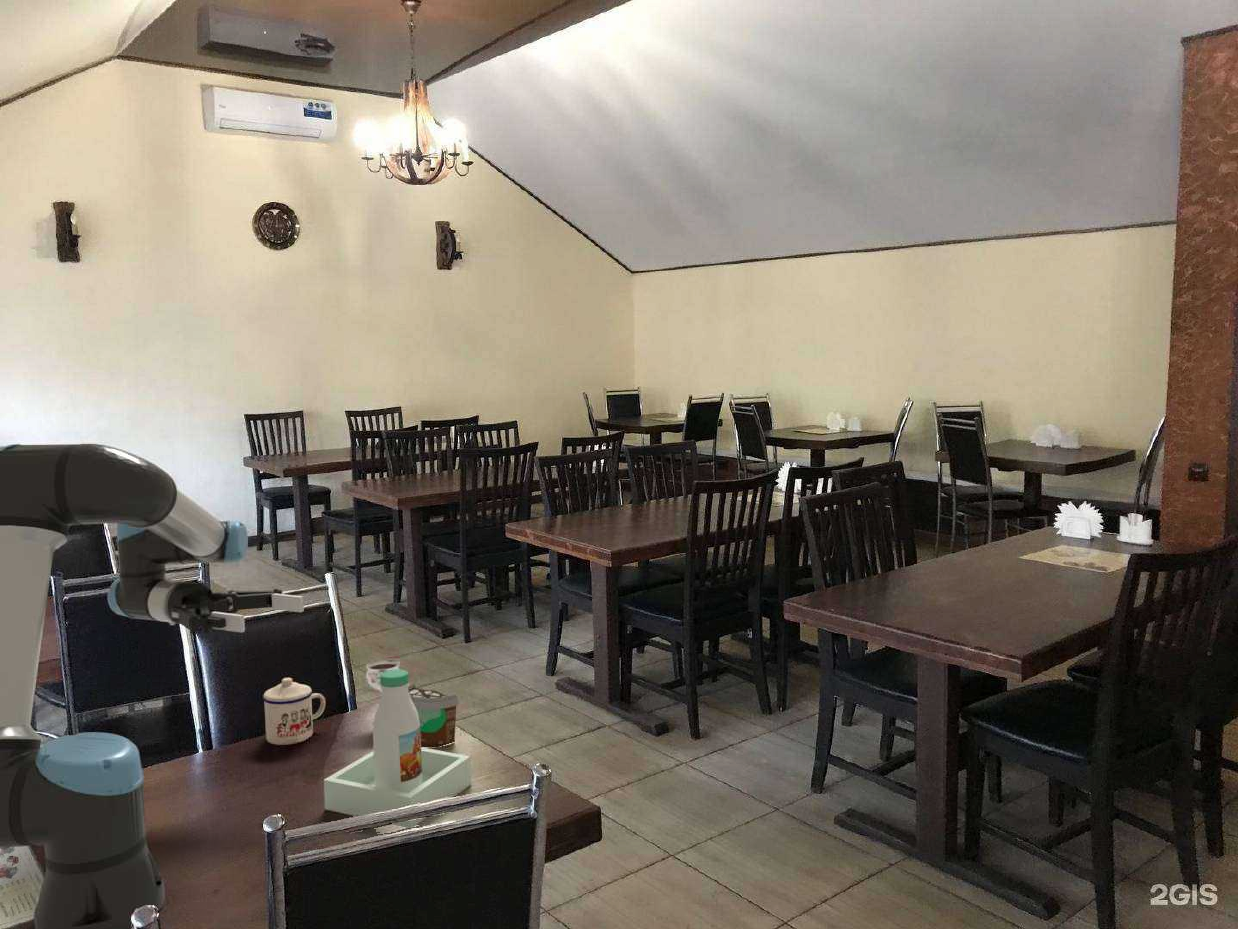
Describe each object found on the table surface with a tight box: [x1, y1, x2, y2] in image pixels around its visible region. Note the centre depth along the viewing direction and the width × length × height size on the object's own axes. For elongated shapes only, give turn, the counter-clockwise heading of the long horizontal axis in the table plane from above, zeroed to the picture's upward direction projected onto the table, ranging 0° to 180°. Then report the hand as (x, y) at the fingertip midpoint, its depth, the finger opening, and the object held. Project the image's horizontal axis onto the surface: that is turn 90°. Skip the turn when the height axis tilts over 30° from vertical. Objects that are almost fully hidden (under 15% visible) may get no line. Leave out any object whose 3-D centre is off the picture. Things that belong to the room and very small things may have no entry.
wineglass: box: [365, 658, 401, 693], centre depth 192 cm, size 7×7×12 cm
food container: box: [408, 682, 460, 749], centre depth 181 cm, size 12×6×10 cm, turn 55°
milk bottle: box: [372, 669, 422, 793], centre depth 158 cm, size 8×8×20 cm
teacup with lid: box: [262, 677, 326, 746], centre depth 186 cm, size 12×9×12 cm
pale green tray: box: [323, 747, 472, 829], centre depth 159 cm, size 17×17×5 cm
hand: (273, 613), depth 162 cm, fingers open, 13 cm apart
